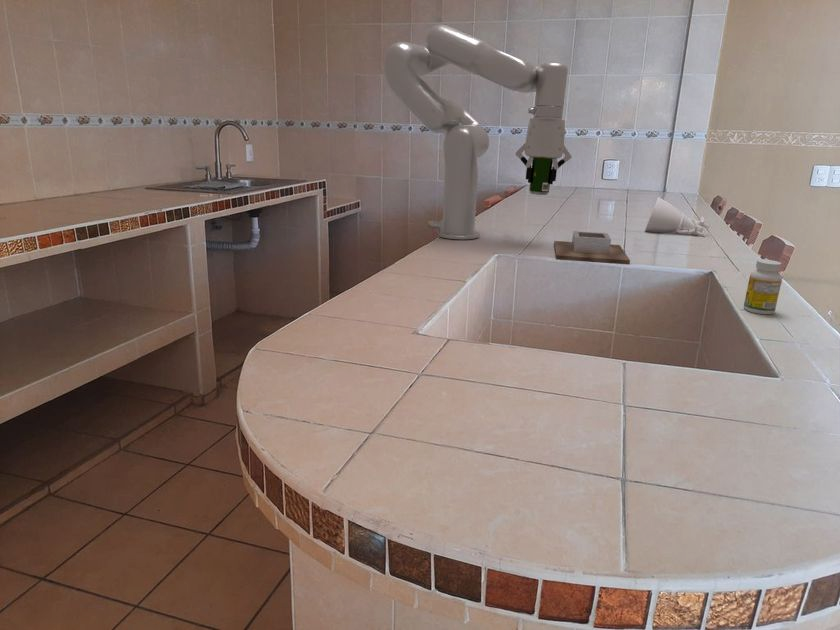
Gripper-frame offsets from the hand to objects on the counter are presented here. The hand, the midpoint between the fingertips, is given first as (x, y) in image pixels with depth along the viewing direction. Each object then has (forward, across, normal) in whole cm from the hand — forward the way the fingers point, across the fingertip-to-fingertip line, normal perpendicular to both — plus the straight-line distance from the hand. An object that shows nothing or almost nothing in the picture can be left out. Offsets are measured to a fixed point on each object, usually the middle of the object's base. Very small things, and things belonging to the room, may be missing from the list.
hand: (540, 182), depth 164 cm
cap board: (+17, +15, -7) cm, 24 cm away
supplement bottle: (+16, +43, -51) cm, 69 cm away
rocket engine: (+17, +45, +34) cm, 59 cm away
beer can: (+3, 0, 0) cm, 3 cm away
